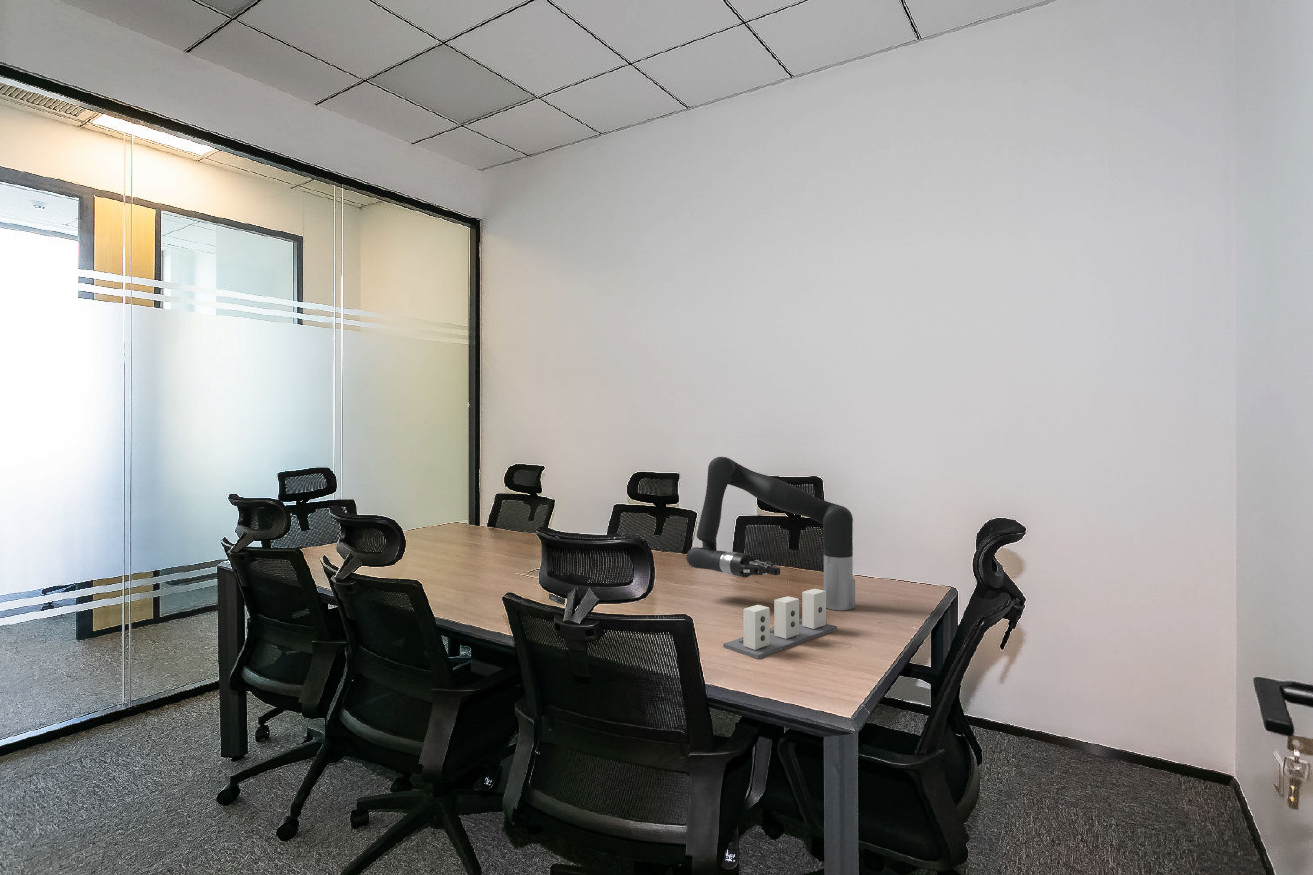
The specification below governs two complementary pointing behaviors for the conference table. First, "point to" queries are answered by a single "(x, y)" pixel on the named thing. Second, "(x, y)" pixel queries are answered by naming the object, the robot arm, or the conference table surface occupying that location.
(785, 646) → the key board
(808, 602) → the key one dot
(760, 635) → the key three dots
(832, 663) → the conference table surface
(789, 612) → the key two dots
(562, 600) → the media streaming box
